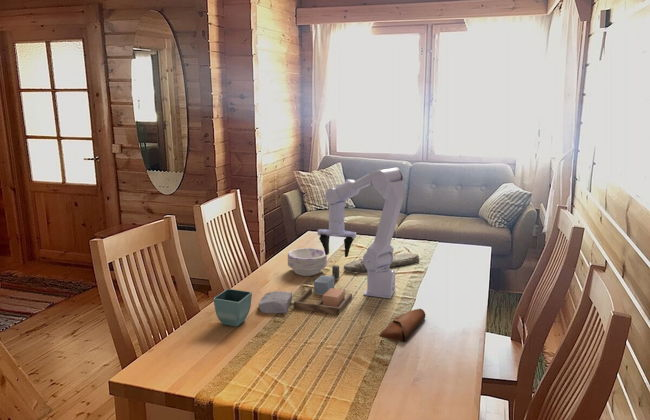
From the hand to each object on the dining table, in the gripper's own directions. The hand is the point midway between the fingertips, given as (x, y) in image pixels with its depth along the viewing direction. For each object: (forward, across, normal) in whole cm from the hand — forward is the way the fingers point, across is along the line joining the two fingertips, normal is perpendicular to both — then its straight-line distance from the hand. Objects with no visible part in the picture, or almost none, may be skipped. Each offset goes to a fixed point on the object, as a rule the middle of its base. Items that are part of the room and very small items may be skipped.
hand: (336, 255), depth 193 cm
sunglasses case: (+10, +32, -33) cm, 47 cm away
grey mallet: (+9, 0, -8) cm, 13 cm away
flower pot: (+9, -17, -47) cm, 51 cm away
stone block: (+10, -11, -31) cm, 34 cm away
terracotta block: (+9, +7, -24) cm, 27 cm away
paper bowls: (+9, -13, +3) cm, 16 cm away
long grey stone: (+10, +13, +20) cm, 26 cm away
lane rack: (+9, +4, -24) cm, 26 cm away
